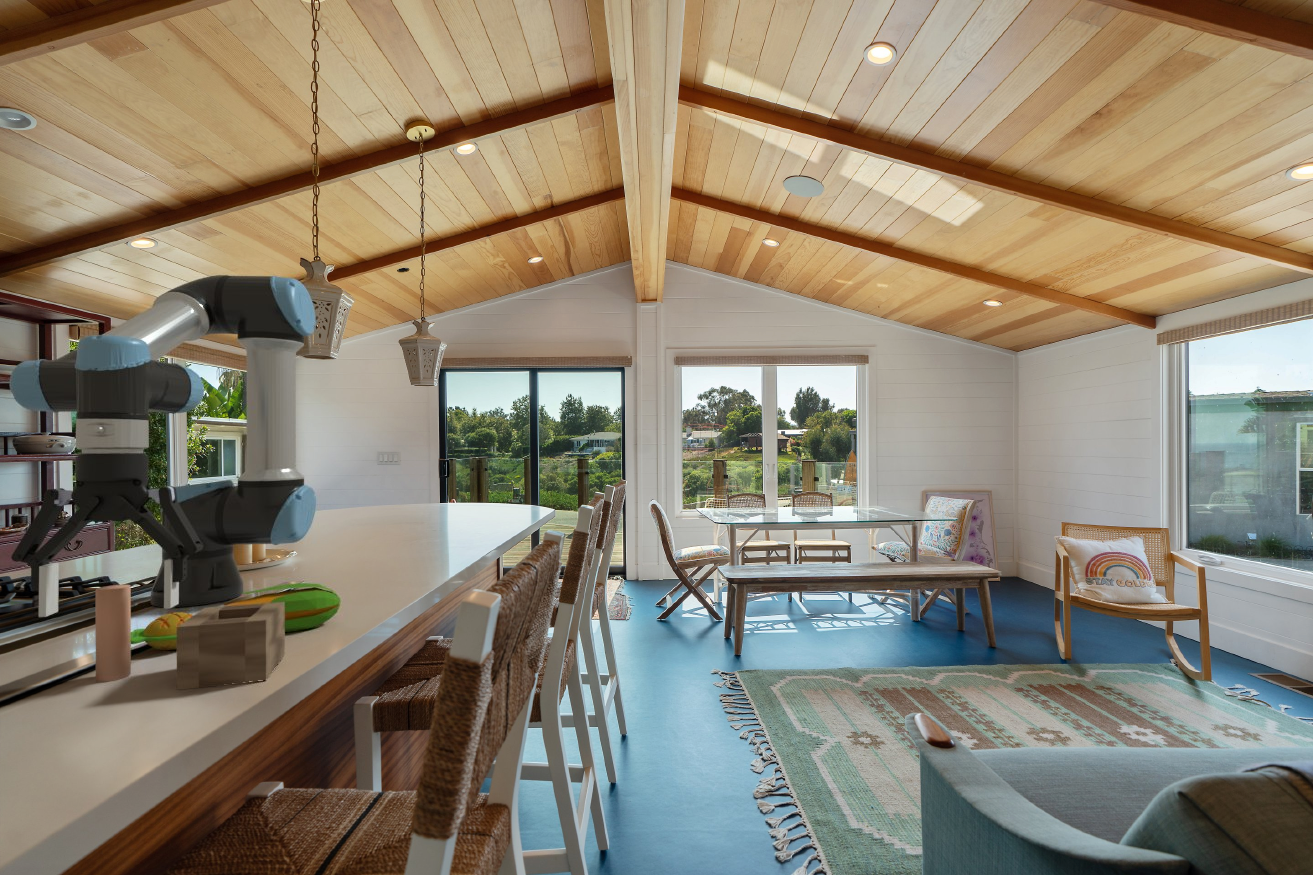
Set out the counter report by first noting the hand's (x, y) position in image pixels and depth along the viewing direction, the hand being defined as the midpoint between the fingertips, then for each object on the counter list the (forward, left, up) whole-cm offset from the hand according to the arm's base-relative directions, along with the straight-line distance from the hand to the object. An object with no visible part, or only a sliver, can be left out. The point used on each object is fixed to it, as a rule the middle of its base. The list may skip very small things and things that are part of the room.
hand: (111, 610), depth 86 cm
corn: (-16, +15, -9) cm, 24 cm away
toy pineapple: (-11, +2, -9) cm, 15 cm away
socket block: (+3, +15, -9) cm, 18 cm away
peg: (0, 0, -9) cm, 9 cm away
